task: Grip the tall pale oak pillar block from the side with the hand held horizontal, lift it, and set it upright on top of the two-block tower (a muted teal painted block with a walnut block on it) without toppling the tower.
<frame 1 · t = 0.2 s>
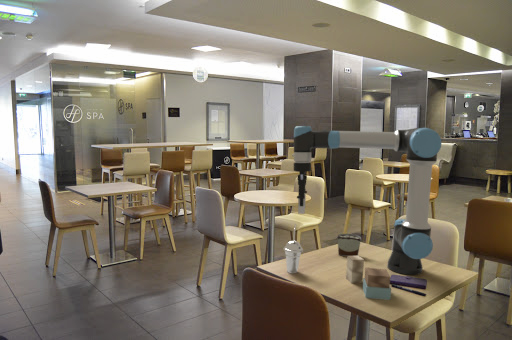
hand: (301, 210, 175), 27 cm above the table, tool pointing down, fingers open, 13 cm apart
teal block: (376, 294, 155), on the table, touching walnut block
cup with straw: (292, 271, 176), on the table
walnut block: (376, 283, 155), point 4 cm above the table, touching teal block
oak pillar: (354, 280, 168), on the table
food container: (348, 254, 203), on the table
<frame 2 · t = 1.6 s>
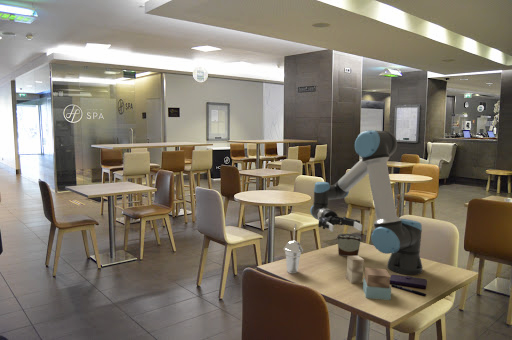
hand: (347, 228, 175), 20 cm above the table, tool horizontal, fingers open, 13 cm apart
nothing on the table moved.
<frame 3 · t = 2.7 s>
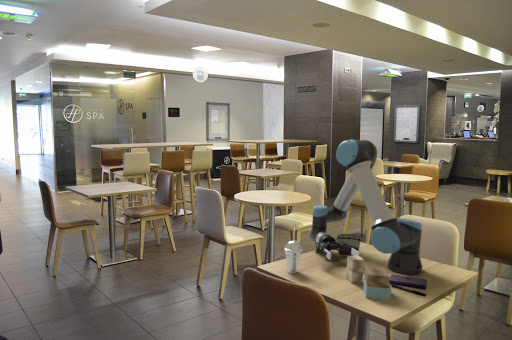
hand: (344, 256, 177), 7 cm above the table, tool horizontal, fingers open, 13 cm apart
nothing on the table moved.
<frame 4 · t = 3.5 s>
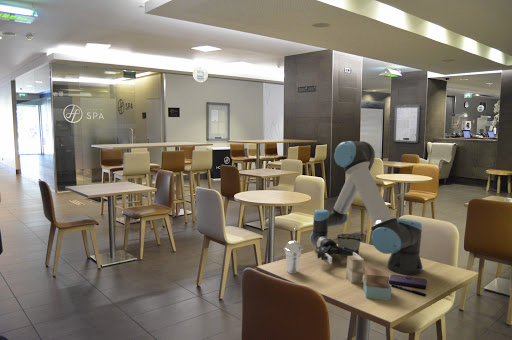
hand: (345, 260, 175), 6 cm above the table, tool horizontal, fingers open, 13 cm apart
nothing on the table moved.
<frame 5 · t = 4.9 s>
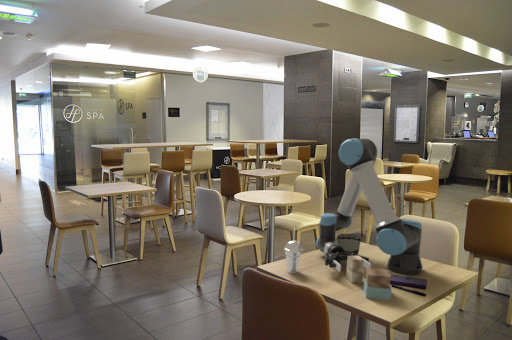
hand: (355, 267, 166), 6 cm above the table, tool horizontal, fingers open, 13 cm apart
teal block: (376, 294, 155), on the table
walnut block: (377, 283, 155), point 4 cm above the table
everything else where it was.
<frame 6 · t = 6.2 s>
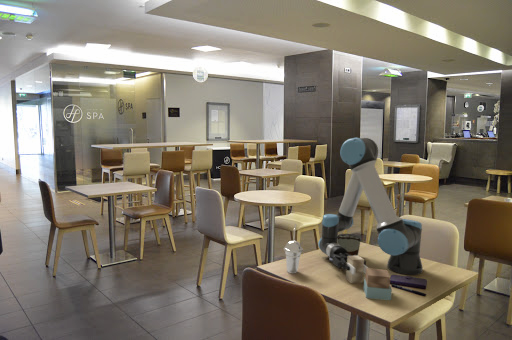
hand: (360, 271, 162), 6 cm above the table, tool horizontal, fingers closed on oak pillar, 5 cm apart
oak pillar: (354, 280, 168), on the table, touching gripper
everything else where it was.
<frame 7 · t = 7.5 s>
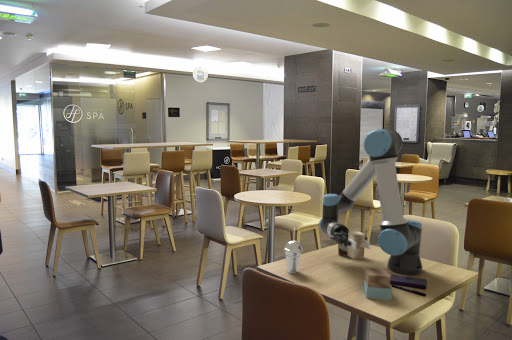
hand: (362, 245, 161), 17 cm above the table, tool horizontal, fingers closed on oak pillar, 5 cm apart
teal block: (376, 294, 155), on the table, touching walnut block
walnut block: (376, 283, 155), point 4 cm above the table, touching teal block
oak pillar: (355, 256, 167), point 10 cm above the table, touching gripper
everything else where it was.
when the fingers open (16 cm above the table, at t = 10.0 s): oak pillar drops 2 cm, point 9 cm above the table.
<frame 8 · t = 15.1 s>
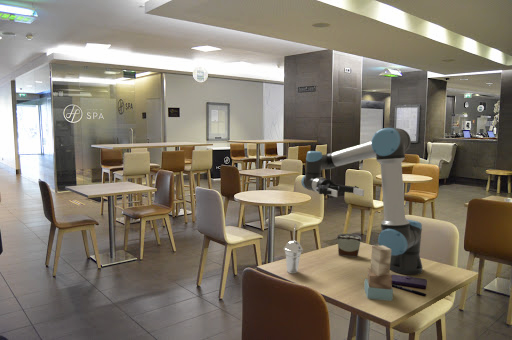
hand: (350, 193, 170), 36 cm above the table, tool horizontal, fingers open, 13 cm apart
oak pillar: (379, 273, 153), point 9 cm above the table
at the end: oak pillar 0.1 cm from the walnut block (horizontally); oak pillar point 8.7 cm above the table; walnut block tilted 0° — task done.
